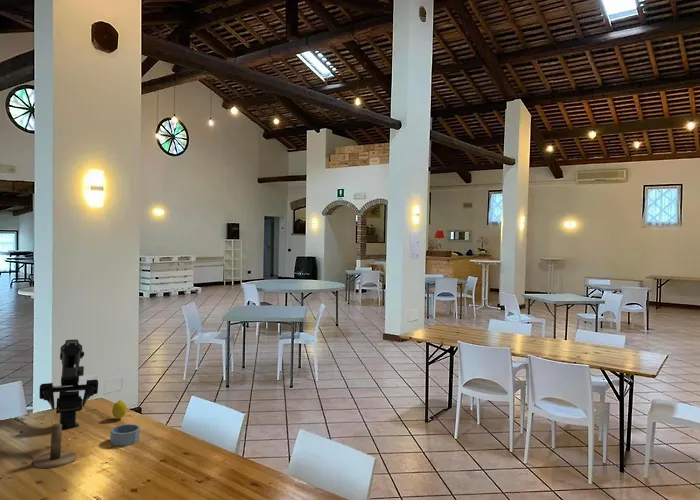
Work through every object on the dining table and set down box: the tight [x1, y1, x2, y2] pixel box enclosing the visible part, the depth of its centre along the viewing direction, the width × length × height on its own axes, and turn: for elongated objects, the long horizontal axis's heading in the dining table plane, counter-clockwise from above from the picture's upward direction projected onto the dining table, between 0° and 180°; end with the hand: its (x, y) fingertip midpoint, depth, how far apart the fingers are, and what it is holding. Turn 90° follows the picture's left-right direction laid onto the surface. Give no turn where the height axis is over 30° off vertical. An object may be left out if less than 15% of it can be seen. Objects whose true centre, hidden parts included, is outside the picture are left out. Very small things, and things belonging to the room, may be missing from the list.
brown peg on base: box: [32, 423, 77, 469], centre depth 161 cm, size 12×12×12 cm
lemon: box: [111, 400, 128, 420], centre depth 202 cm, size 6×6×8 cm
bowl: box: [109, 423, 141, 447], centre depth 180 cm, size 10×10×4 cm
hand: (68, 407), depth 170 cm, fingers open, 9 cm apart
